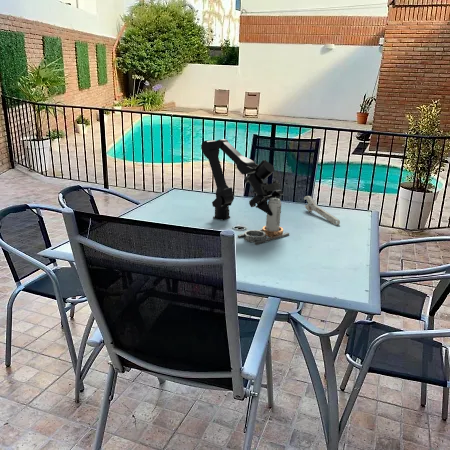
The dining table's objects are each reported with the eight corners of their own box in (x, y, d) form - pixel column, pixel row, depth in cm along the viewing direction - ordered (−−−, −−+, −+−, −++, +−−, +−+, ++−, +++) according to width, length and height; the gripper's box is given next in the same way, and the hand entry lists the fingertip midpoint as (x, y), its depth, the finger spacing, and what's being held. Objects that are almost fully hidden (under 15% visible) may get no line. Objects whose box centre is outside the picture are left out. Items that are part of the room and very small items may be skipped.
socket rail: (256, 245, 179) (256, 239, 178) (237, 237, 187) (237, 232, 186) (289, 235, 192) (289, 230, 191) (270, 228, 200) (270, 223, 200)
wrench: (335, 231, 210) (302, 208, 234) (338, 230, 210) (304, 207, 235) (338, 216, 206) (304, 194, 231) (341, 215, 207) (307, 194, 232)
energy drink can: (268, 228, 197) (270, 196, 192) (280, 230, 194) (283, 198, 190) (263, 231, 192) (266, 199, 187) (276, 234, 189) (279, 201, 184)
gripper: (256, 177, 181) (275, 208, 177) (281, 172, 194) (300, 201, 191) (241, 192, 188) (259, 221, 185) (266, 186, 202) (283, 213, 198)
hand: (276, 214), depth 189 cm, fingers closed on energy drink can, 6 cm apart
